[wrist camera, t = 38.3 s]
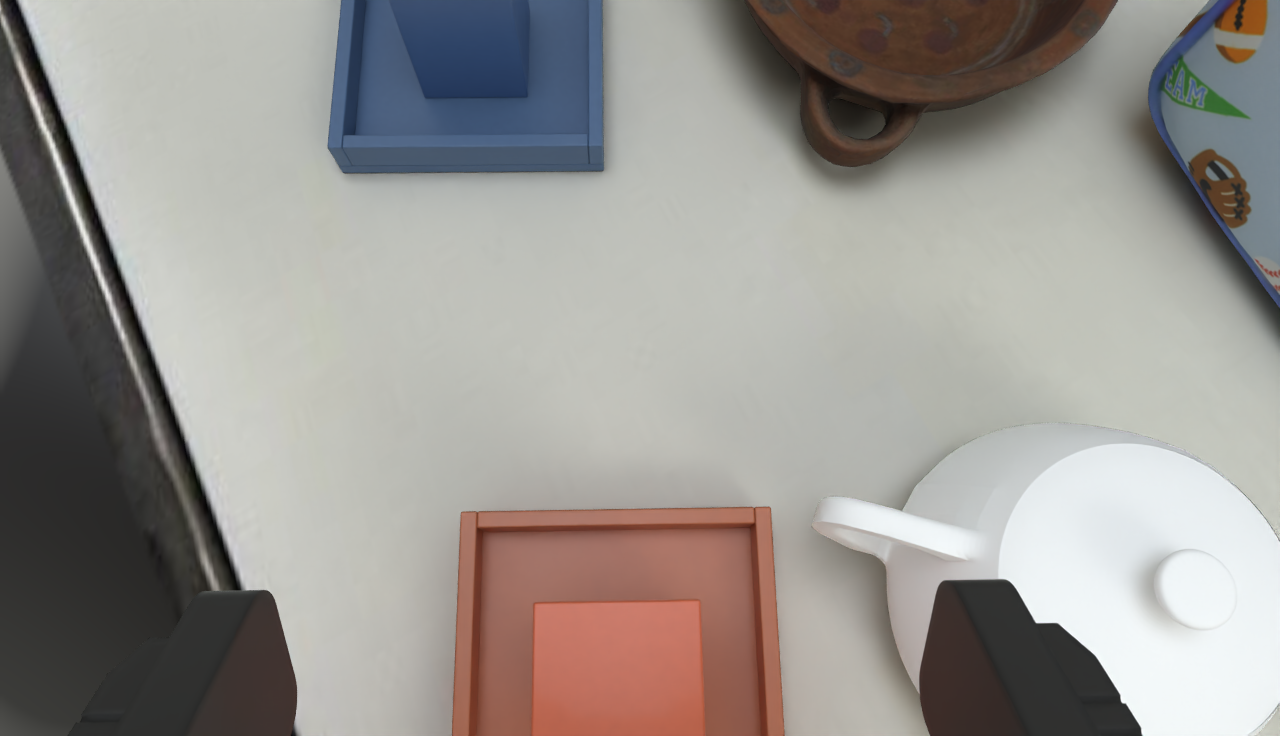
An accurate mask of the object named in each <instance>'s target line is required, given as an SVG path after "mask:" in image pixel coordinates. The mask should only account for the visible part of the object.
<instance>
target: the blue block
mask: <svg viewBox="0 0 1280 736" xmlns="http://www.w3.org/2000/svg"><path fill="white" fill-rule="evenodd" d="M388 1H389V3H390V6H391V9H392V12H393V14H394V17H395V20H396V22H397V25H398V28H399V30H400V33H401V36H402V38H403V41H404V44H405V46H406V49H407V52H408V54H409V57H410V60H411V62H412V65H413V68H414V70H415V73H416V76H417V78H418V81H419V84H420V86H421V89H422V92H423V95H424V97H425V98H501V97H528V75H529V28H530V9H529V3H528V0H388Z"/></svg>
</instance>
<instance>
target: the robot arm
mask: <svg viewBox="0 0 1280 736" xmlns="http://www.w3.org/2000/svg"><path fill="white" fill-rule="evenodd" d="M919 691H920V700H921V707H922V711H923V716H924V719H925V722H926V725H927V728H928V731H929V734H930V736H1143V735H1142V732H1141V729H1142V728H1141V727H1140V725H1139V723H1138V722H1137V720H1136V719H1135V717H1134V716H1133V714H1132V712H1131V711H1130V709H1129V708H1128V706H1127V704H1126V703H1122V702H1121V698H1120V697H1121V695H1120V693H1119V692H1118V690H1117V689H1116V687H1115V686H1114V684H1113V682H1112V681H1111V679H1110V678H1109V676H1108V674H1107V673H1106V671H1105V670H1104V668H1103V667H1102V665H1101V663H1100V662H1099V660H1098V659H1097V657H1096V656H1095V655H1094V654H1093V653H1092V652H1091V651H1089V650H1088V649H1087V648H1086V647H1085V646H1084V645H1082V644H1081V643H1080V642H1079V641H1078V640H1077V639H1075V638H1074V637H1073V636H1072V635H1071V634H1070V633H1068V632H1067V631H1066V630H1065V629H1064V628H1063V627H1062V626H1060V625H1059V624H1058V623H1036V622H1035V620H1034V619H1033V617H1032V615H1031V614H1030V612H1029V610H1028V608H1027V607H1026V605H1025V603H1024V601H1023V600H1022V598H1021V596H1020V595H1019V593H1018V591H1017V590H1016V588H1015V587H1014V585H1013V584H1012V583H1011V582H1010V581H1008V580H1006V579H980V580H943V581H942V582H941V583H940V584H939V586H938V588H937V592H936V595H935V600H934V605H933V610H932V614H931V619H930V624H929V629H928V633H927V638H926V643H925V647H924V652H923V657H922V662H921V666H920V674H919ZM296 707H297V685H296V679H295V674H294V670H293V667H292V663H291V659H290V655H289V651H288V648H287V644H286V640H285V636H284V632H283V629H282V625H281V621H280V617H279V613H278V610H277V606H276V602H275V599H274V597H273V595H272V594H271V593H270V592H269V591H267V590H248V591H203V592H200V593H199V594H197V595H196V596H195V597H194V598H193V599H192V601H191V602H190V604H189V605H188V607H187V609H186V610H185V612H184V614H183V615H182V617H181V619H180V620H179V622H178V624H177V625H176V627H175V629H174V630H173V632H172V634H171V636H170V637H168V638H148V639H147V640H146V641H145V642H144V643H143V644H141V646H139V647H138V648H137V649H136V650H135V651H133V652H132V653H131V654H130V655H129V656H128V657H127V658H125V659H124V660H123V661H122V662H121V663H119V664H118V665H117V666H116V667H115V668H114V669H112V670H111V671H110V672H109V673H108V674H107V676H106V677H105V679H104V680H103V682H102V683H101V685H100V687H99V688H98V690H97V691H96V693H95V694H94V696H93V697H92V699H91V701H90V702H89V703H88V705H87V707H86V708H85V710H84V711H83V713H82V714H81V715H82V719H81V721H80V723H76V724H75V725H74V727H73V728H72V730H71V731H70V733H69V734H68V736H290V735H291V732H292V729H293V725H294V720H295V715H296Z"/></svg>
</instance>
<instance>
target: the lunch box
mask: <svg viewBox="0 0 1280 736" xmlns="http://www.w3.org/2000/svg"><path fill="white" fill-rule="evenodd" d="M1148 102H1149V108H1150V112H1151V116H1152V119H1153V121H1154V123H1155V125H1156V127H1157V130H1158V132H1159V134H1160V136H1161V137H1162V139H1163V140H1164V142H1165V144H1166V145H1167V147H1168V148H1169V150H1170V151H1171V153H1172V154H1173V156H1174V157H1175V159H1176V160H1177V162H1178V163H1179V165H1180V166H1181V168H1182V169H1183V171H1184V172H1185V174H1186V175H1187V177H1188V178H1189V180H1190V181H1191V183H1192V184H1193V186H1194V187H1195V189H1196V190H1197V192H1198V194H1199V195H1200V197H1201V198H1202V200H1203V202H1204V203H1205V205H1206V207H1207V208H1208V210H1209V211H1210V213H1211V214H1212V216H1213V217H1214V219H1215V220H1216V221H1217V223H1218V224H1219V226H1220V227H1221V229H1222V230H1223V231H1224V233H1225V234H1226V235H1227V237H1228V238H1229V240H1230V241H1231V242H1232V244H1233V245H1234V246H1235V248H1236V249H1237V250H1238V252H1239V253H1240V254H1241V256H1242V257H1243V258H1244V259H1245V261H1246V262H1247V264H1248V265H1249V266H1250V268H1251V269H1252V271H1253V272H1254V274H1255V275H1256V277H1257V278H1258V279H1259V281H1260V282H1261V283H1262V285H1263V286H1264V288H1265V289H1266V290H1267V292H1268V293H1269V294H1270V296H1271V297H1272V298H1273V300H1274V301H1275V302H1276V304H1277V305H1278V306H1279V308H1280V0H1210V1H1209V2H1208V3H1207V4H1206V5H1205V6H1204V7H1203V9H1202V10H1201V11H1200V12H1199V13H1198V14H1197V15H1196V17H1195V18H1194V19H1193V20H1192V21H1191V22H1190V23H1189V24H1188V26H1187V27H1186V28H1185V29H1184V30H1183V31H1182V32H1181V34H1180V35H1179V36H1178V37H1177V38H1176V39H1175V41H1174V42H1173V43H1172V44H1171V46H1170V47H1169V48H1168V50H1167V51H1166V52H1165V53H1164V55H1163V56H1162V57H1161V59H1160V60H1159V62H1158V64H1157V65H1156V67H1155V68H1154V70H1153V72H1152V75H1151V79H1150V82H1149V90H1148Z"/></svg>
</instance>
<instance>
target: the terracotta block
mask: <svg viewBox="0 0 1280 736" xmlns="http://www.w3.org/2000/svg"><path fill="white" fill-rule="evenodd" d="M531 736H706V733H705V705H704V677H703V649H702V621H701V601H700V600H699V599H674V600H616V601H557V602H535V603H534V604H533V638H532V696H531Z"/></svg>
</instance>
